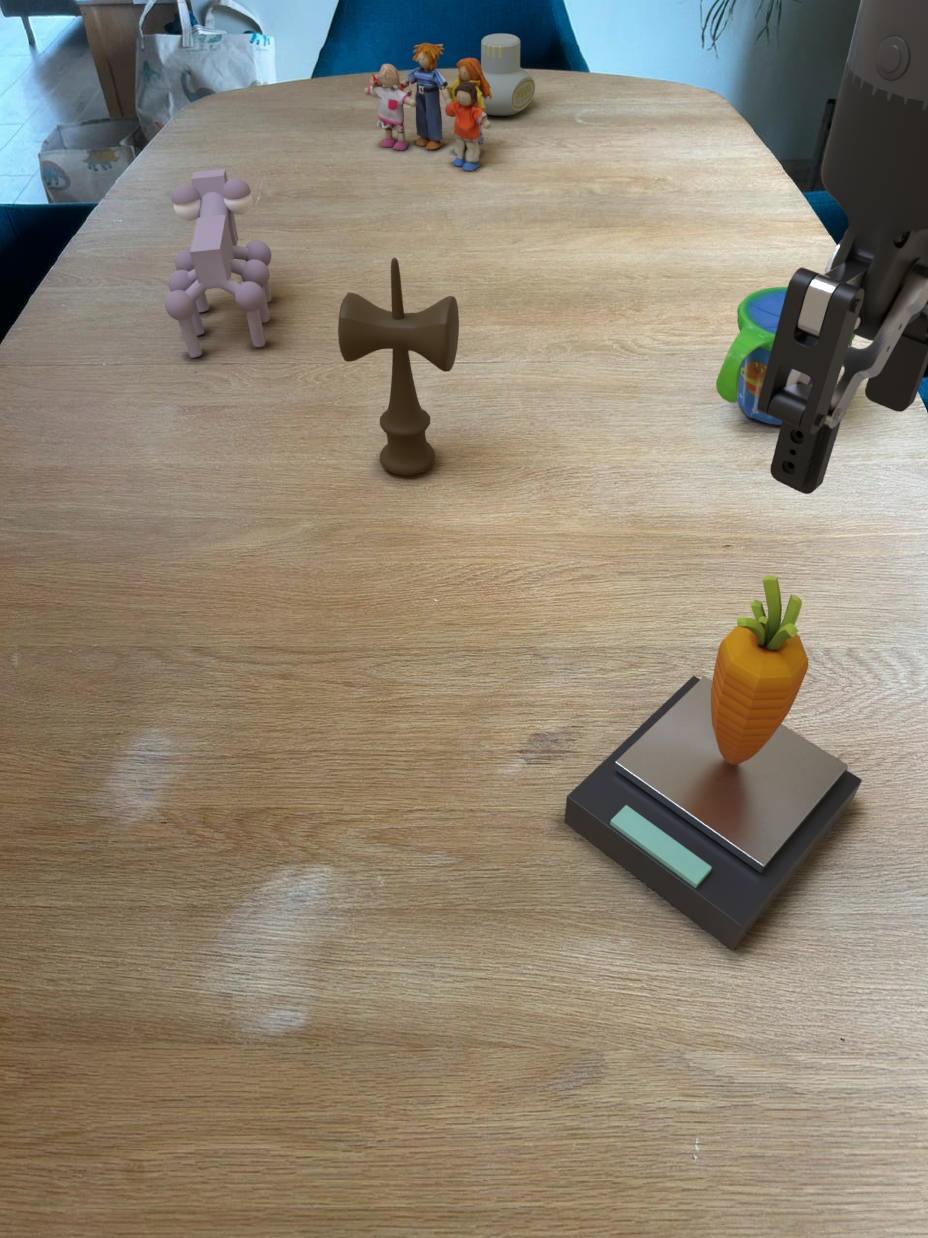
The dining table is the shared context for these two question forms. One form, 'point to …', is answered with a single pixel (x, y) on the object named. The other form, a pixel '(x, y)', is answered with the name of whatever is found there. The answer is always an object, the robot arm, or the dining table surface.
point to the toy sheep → (217, 256)
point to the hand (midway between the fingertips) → (842, 441)
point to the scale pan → (730, 779)
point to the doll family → (434, 104)
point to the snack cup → (752, 351)
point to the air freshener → (505, 75)
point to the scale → (691, 844)
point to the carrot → (757, 676)
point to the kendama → (401, 364)
